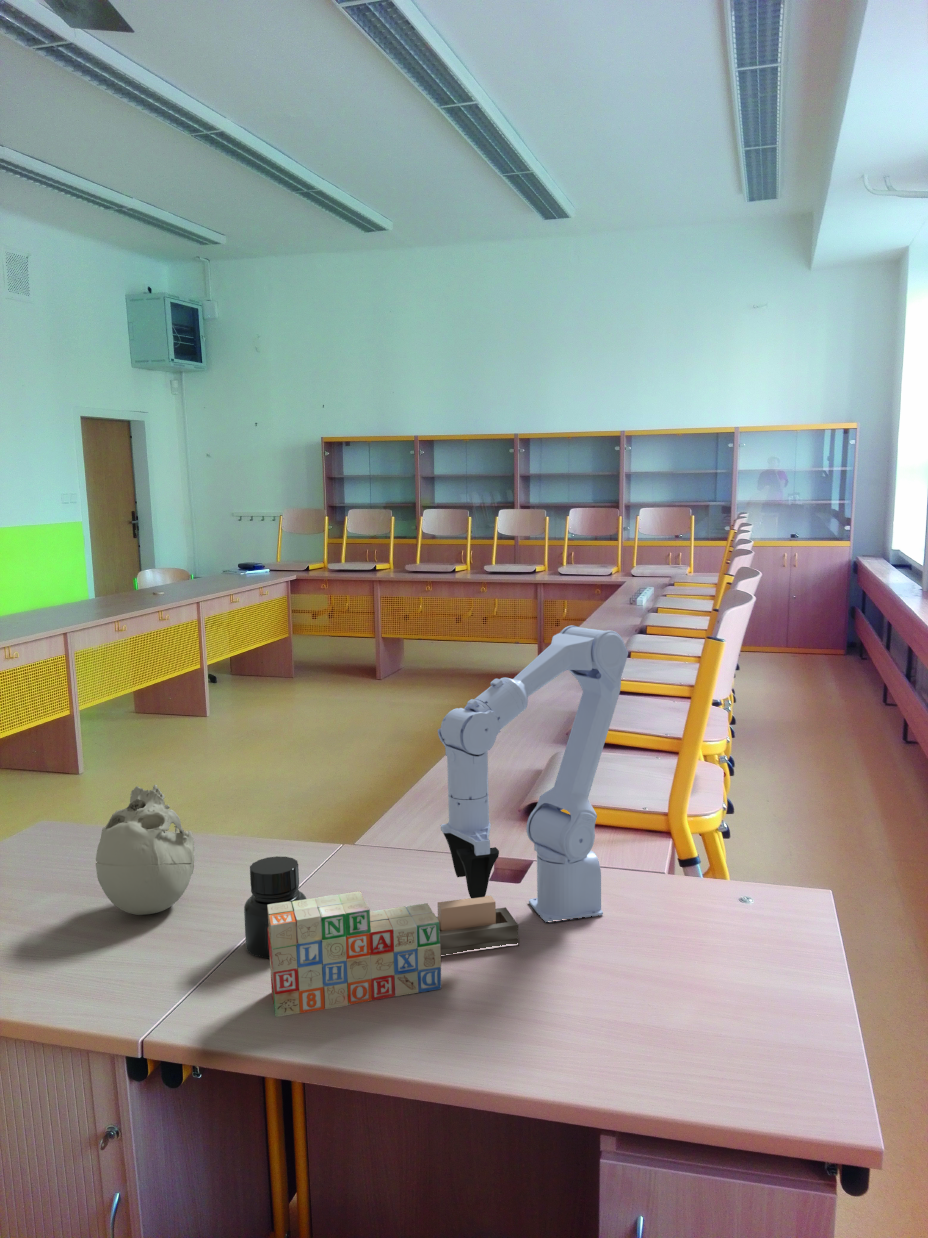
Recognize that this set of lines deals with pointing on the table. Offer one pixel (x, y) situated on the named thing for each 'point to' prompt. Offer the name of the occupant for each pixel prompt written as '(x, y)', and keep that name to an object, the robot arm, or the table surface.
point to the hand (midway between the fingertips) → (470, 886)
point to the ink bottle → (268, 898)
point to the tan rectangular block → (466, 913)
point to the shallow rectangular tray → (481, 935)
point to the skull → (144, 855)
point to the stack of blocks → (349, 952)
